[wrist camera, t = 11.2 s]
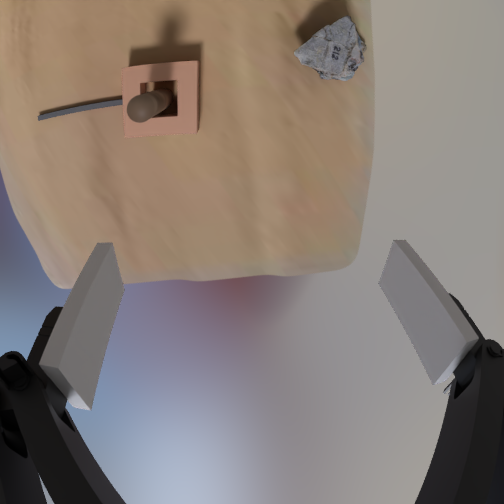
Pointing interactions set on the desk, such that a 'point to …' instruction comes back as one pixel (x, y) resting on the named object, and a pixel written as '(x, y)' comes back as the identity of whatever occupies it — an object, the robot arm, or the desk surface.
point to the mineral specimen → (334, 50)
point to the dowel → (149, 104)
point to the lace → (80, 109)
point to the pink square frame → (187, 98)
